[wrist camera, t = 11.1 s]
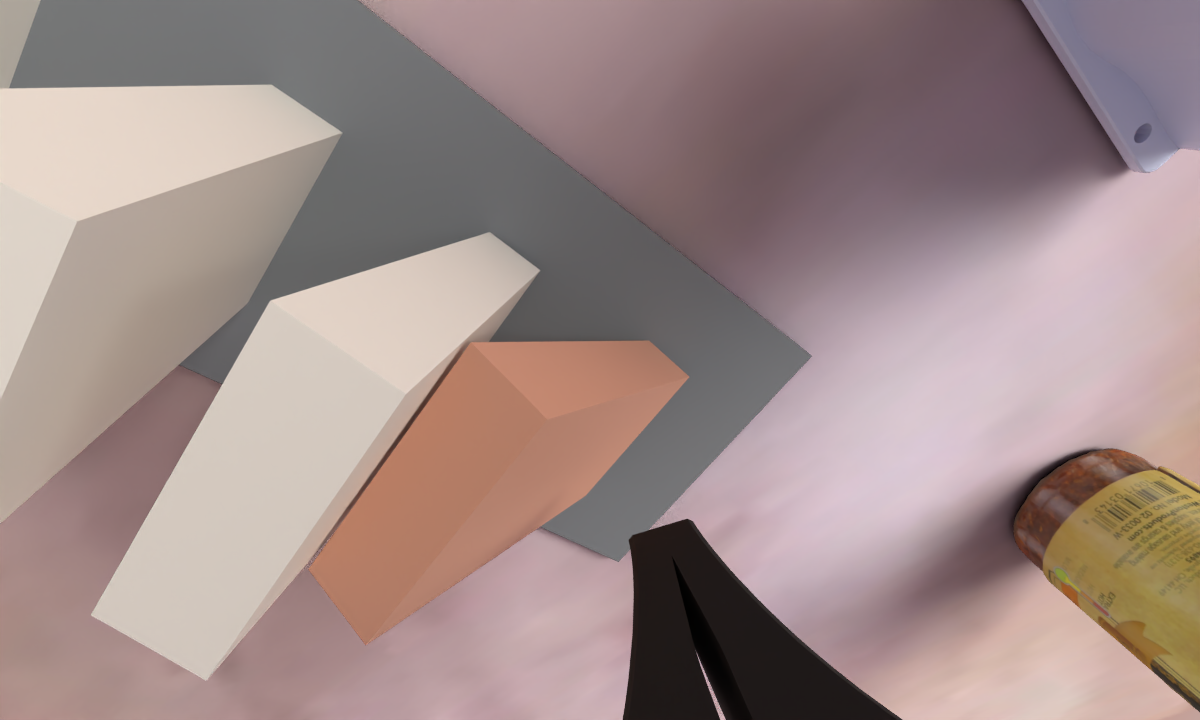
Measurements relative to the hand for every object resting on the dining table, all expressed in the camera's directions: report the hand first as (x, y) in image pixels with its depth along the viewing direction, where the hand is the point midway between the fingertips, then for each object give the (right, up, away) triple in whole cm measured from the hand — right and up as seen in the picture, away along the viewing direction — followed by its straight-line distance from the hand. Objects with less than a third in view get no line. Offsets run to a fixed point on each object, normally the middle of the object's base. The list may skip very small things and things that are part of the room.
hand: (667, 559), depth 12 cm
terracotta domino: (-1, +2, +5) cm, 6 cm away
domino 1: (-9, +8, +1) cm, 12 cm away
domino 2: (-5, +5, +3) cm, 8 cm away
